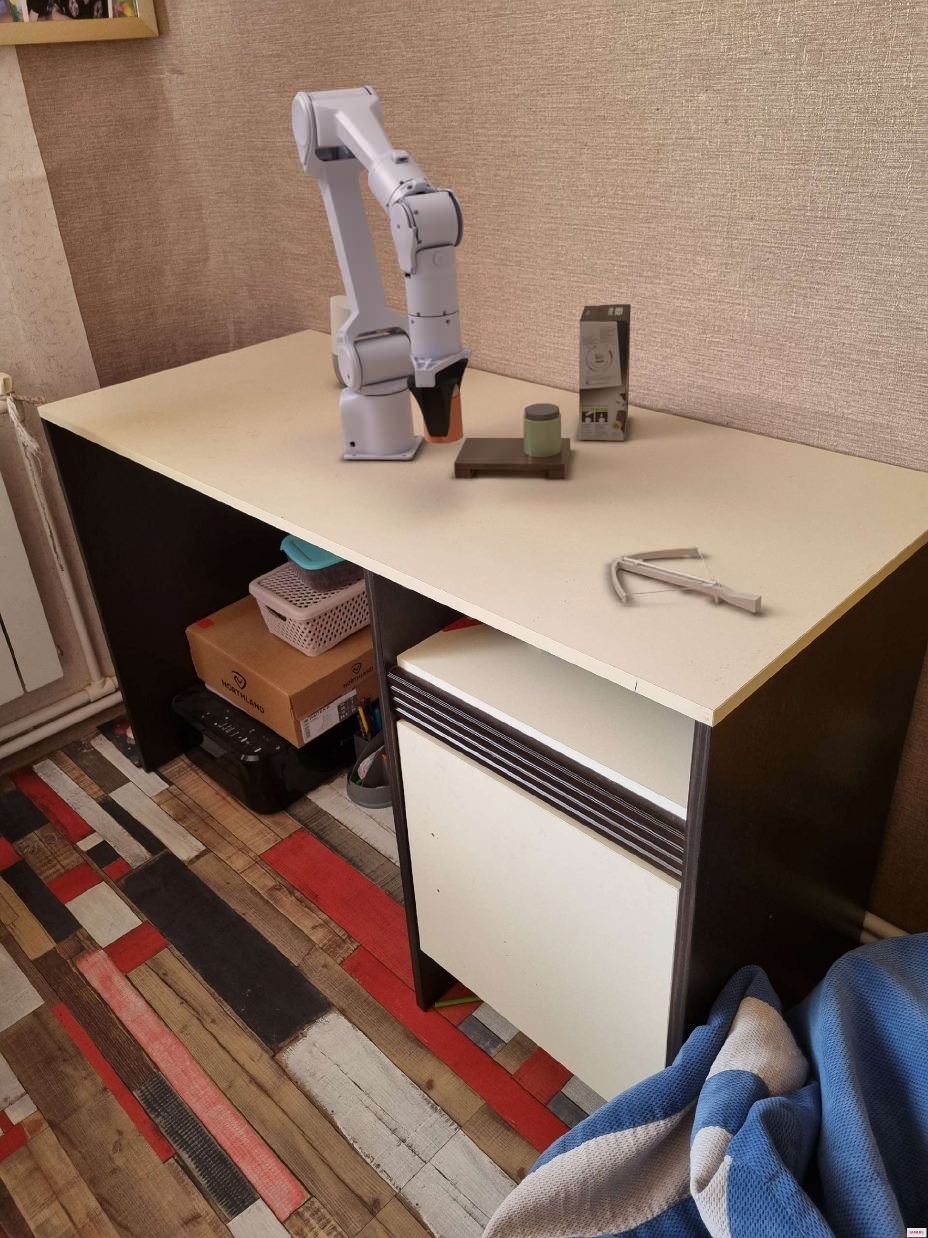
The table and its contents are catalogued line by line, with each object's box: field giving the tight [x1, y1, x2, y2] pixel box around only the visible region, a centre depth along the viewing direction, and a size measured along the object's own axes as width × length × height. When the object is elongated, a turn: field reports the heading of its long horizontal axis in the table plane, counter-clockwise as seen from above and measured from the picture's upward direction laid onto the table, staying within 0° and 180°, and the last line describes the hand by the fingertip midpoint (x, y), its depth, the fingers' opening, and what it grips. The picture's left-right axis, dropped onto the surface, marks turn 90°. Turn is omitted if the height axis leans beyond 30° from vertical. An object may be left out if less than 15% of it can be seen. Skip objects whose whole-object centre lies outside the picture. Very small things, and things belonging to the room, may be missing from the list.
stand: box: [453, 437, 572, 480], centre depth 123 cm, size 14×9×2 cm, turn 80°
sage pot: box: [522, 402, 562, 457], centre depth 120 cm, size 5×5×6 cm
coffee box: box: [578, 303, 632, 442], centre depth 128 cm, size 9×6×16 cm
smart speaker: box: [329, 294, 385, 387], centre depth 154 cm, size 10×9×14 cm
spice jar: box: [422, 384, 464, 445], centre depth 111 cm, size 5×5×6 cm
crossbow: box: [610, 546, 762, 613], centre depth 93 cm, size 16×13×2 cm
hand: (443, 428), depth 112 cm, fingers closed on spice jar, 4 cm apart
